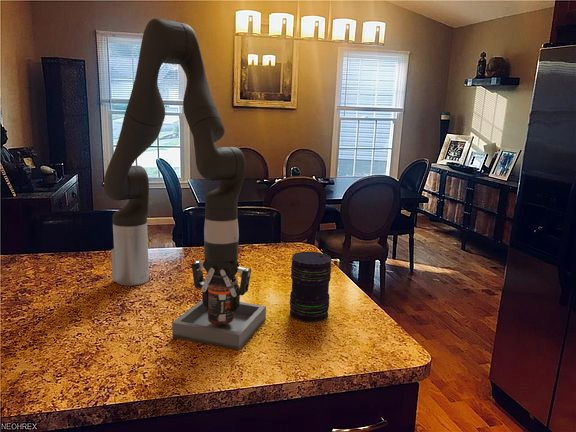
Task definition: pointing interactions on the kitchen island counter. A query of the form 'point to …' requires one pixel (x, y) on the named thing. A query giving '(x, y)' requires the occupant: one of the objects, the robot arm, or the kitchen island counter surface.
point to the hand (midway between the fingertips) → (221, 307)
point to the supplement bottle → (219, 302)
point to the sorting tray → (219, 326)
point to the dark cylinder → (310, 286)
